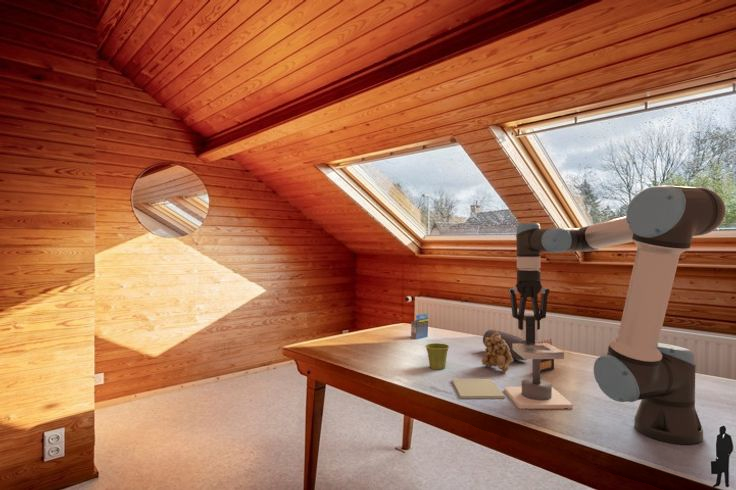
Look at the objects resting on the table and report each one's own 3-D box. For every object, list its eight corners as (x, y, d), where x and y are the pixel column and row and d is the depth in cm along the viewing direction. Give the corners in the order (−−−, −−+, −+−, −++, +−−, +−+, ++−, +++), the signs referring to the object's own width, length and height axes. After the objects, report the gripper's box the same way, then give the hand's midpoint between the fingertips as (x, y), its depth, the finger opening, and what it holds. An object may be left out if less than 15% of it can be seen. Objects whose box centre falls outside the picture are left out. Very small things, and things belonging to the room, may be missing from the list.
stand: (572, 408, 135) (572, 359, 135) (519, 408, 135) (519, 359, 135) (551, 390, 151) (551, 345, 151) (504, 390, 151) (504, 346, 151)
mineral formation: (491, 363, 182) (491, 327, 182) (518, 372, 171) (518, 333, 170) (477, 367, 178) (477, 329, 177) (504, 376, 166) (503, 335, 166)
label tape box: (422, 335, 234) (422, 312, 234) (428, 337, 231) (428, 313, 231) (410, 338, 228) (410, 314, 228) (416, 339, 225) (416, 315, 225)
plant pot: (422, 369, 176) (421, 347, 175) (430, 363, 184) (430, 342, 184) (445, 372, 171) (444, 350, 171) (452, 366, 180) (452, 344, 179)
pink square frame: (563, 358, 136) (563, 322, 136) (524, 359, 137) (524, 323, 136) (545, 347, 151) (545, 314, 151) (509, 347, 151) (509, 315, 151)
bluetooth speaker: (534, 362, 184) (534, 338, 184) (515, 364, 181) (515, 340, 180) (498, 349, 205) (498, 327, 205) (481, 351, 202) (481, 329, 202)
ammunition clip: (536, 374, 168) (536, 342, 168) (532, 373, 170) (532, 341, 169) (554, 369, 174) (554, 338, 174) (550, 368, 175) (550, 337, 175)
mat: (504, 398, 144) (504, 395, 144) (460, 398, 144) (460, 395, 144) (491, 381, 161) (491, 378, 161) (451, 381, 161) (451, 378, 161)
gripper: (548, 268, 153) (549, 336, 153) (501, 268, 153) (501, 337, 154) (557, 269, 146) (557, 341, 146) (507, 270, 146) (508, 342, 146)
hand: (529, 339), depth 150 cm, fingers closed on pink square frame, 3 cm apart
